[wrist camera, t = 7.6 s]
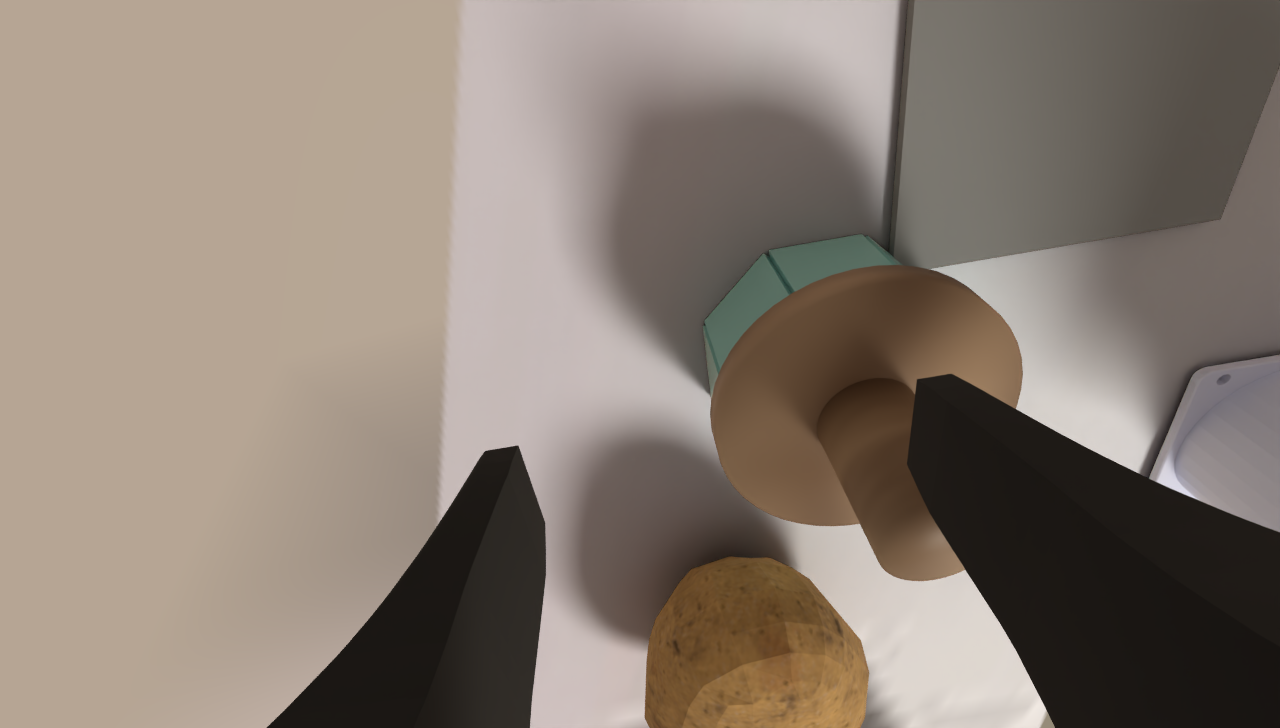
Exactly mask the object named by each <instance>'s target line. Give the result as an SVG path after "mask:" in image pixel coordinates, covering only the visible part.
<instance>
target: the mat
mask: <svg viewBox="0 0 1280 728" xmlns="http://www.w3.org/2000/svg"><path fill="white" fill-rule="evenodd" d="M1279 66H1280V0H908V8H907V21H906V34H905V47H904V60H903V73H902V86H901V99H900V112H899V125H898V138H897V151H896V164H895V177H894V190H893V203H892V216H891V229H890V242H889V253H890V254H891V255H892V256H893V257H894V258H895V259H896V260H898V261H899V262H900V263H901V264H902V265H904V266H914V267H920V268H925V269H932V268H938V267H943V266H949V265H955V264H961V263H967V262H973V261H979V260H985V259H990V258H996V257H1002V256H1008V255H1014V254H1020V253H1026V252H1031V251H1037V250H1043V249H1049V248H1055V247H1061V246H1067V245H1073V244H1078V243H1084V242H1090V241H1096V240H1102V239H1108V238H1114V237H1120V236H1125V235H1131V234H1137V233H1143V232H1149V231H1155V230H1161V229H1167V228H1172V227H1178V226H1184V225H1190V224H1196V223H1202V222H1208V221H1214V220H1219V219H1221V217H1222V214H1223V211H1224V209H1225V206H1226V204H1227V201H1228V198H1229V196H1230V193H1231V191H1232V188H1233V185H1234V183H1235V180H1236V178H1237V175H1238V173H1239V170H1240V167H1241V165H1242V162H1243V160H1244V157H1245V154H1246V152H1247V149H1248V147H1249V144H1250V141H1251V139H1252V136H1253V134H1254V131H1255V128H1256V126H1257V123H1258V121H1259V118H1260V115H1261V113H1262V110H1263V108H1264V105H1265V102H1266V100H1267V97H1268V95H1269V92H1270V89H1271V87H1272V84H1273V82H1274V79H1275V76H1276V74H1277V71H1278V69H1279Z"/></svg>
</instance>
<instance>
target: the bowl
mask: <svg viewBox="0 0 1280 728" xmlns="http://www.w3.org/2000/svg"><path fill="white" fill-rule="evenodd" d="M878 265H902V264H901V263H900V262H899V261H898V260H896V259H895V258H894V257H893V256H892V255H891V254H890V253H889V252H887V251H886V250H885V249H884V248H882V247H881V246H880V245H879V244H878V243H876V242H875V241H874V240H873V239H871V238H870V237H869V236H868V235H867V236H866V237H864V236H863V235H862V234H859V235H853V236H847V237H841V238H836V239H830V240H824V241H818V242H812V243H807V244H801V245H795V246H789V247H783V248H777V249H772V250H769V257H768V256H767V255H765V254H764V253H763V254H762V255H761V256H760V258H759V259H758V260H757V261H756V262H755V263H754V264H753V266H752V267H751V268H750V269H749V270H748V271H747V272H746V274H745V275H744V276H743V277H742V278H741V279H740V280H739V282H738V283H737V284H736V285H735V286H734V287H733V289H732V290H731V291H730V292H729V293H728V294H727V295H726V297H725V298H724V299H723V300H722V301H721V302H720V303H719V305H718V306H717V307H716V308H715V309H714V310H713V311H712V313H711V314H710V315H709V316H708V317H707V318H706V320H705V321H704V322H705V325H704V326H703V333H704V342H705V351H706V360H707V369H708V378H709V387H710V396H711V398H712V394H713V390H714V386H715V382H716V379H717V377H718V374H719V372H720V369H721V367H722V365H723V363H724V361H725V360H726V358H727V356H728V354H729V353H730V351H731V349H732V348H733V347H734V345H735V344H736V343H737V341H738V340H739V339H740V337H741V336H742V335H743V333H744V332H745V331H746V330H747V329H748V328H749V327H750V326H751V325H752V324H753V323H754V322H755V321H756V320H757V319H758V318H759V317H760V316H762V315H763V314H764V313H765V312H766V311H767V310H769V309H770V308H771V307H772V306H774V305H775V304H777V303H778V302H780V301H781V300H783V299H784V298H786V297H787V296H789V295H790V294H792V293H793V292H795V291H797V290H799V289H801V288H803V287H805V286H807V285H809V284H811V283H813V282H815V281H818V280H821V279H823V278H826V277H828V276H831V275H834V274H837V273H841V272H845V271H848V270H852V269H857V268H863V267H870V266H878Z"/></svg>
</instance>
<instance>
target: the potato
mask: <svg viewBox="0 0 1280 728" xmlns="http://www.w3.org/2000/svg"><path fill="white" fill-rule="evenodd" d="M868 678H869V670H868V666H867V662H866V659H865V655H864V651H863V647H862V643H861V640H860V639H859V638H858V637H857V635H856V634H855V633H854V632H853V630H852V629H851V628H850V627H849V626H848V624H847V623H846V622H845V621H844V620H843V618H842V617H841V616H840V615H839V614H838V613H837V611H836V610H835V609H834V608H833V607H832V605H831V604H830V603H829V602H828V601H827V599H826V598H825V597H824V596H823V595H822V594H821V592H820V591H819V590H818V589H817V588H816V586H815V585H814V584H813V583H812V582H811V580H810V579H809V578H807V577H805V576H804V575H802V574H801V573H799V572H798V571H796V570H795V569H793V568H791V567H789V566H787V565H785V564H783V563H780V562H778V561H776V560H774V559H771V558H769V557H767V558H744V557H732V556H729V557H726V558H723V559H720V560H717V561H714V562H711V563H708V564H705V565H702V566H699V567H696V568H693V569H691V570H690V571H689V572H688V573H687V575H686V576H685V577H684V578H683V579H682V580H681V581H680V582H679V584H678V585H677V587H676V588H675V590H674V592H673V593H672V595H671V596H670V598H669V599H668V601H667V602H666V604H665V605H664V607H663V608H662V610H661V611H660V613H659V615H658V616H657V618H656V619H655V622H654V626H653V629H652V632H651V635H650V638H649V646H648V654H647V667H646V695H645V719H646V721H647V723H648V725H649V727H650V728H860V726H861V724H862V722H863V720H864V718H865V709H866V699H867V688H868Z"/></svg>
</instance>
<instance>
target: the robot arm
mask: <svg viewBox="0 0 1280 728" xmlns="http://www.w3.org/2000/svg"><path fill="white" fill-rule="evenodd" d="M907 466H908V468H909V470H910V472H911V475H912V477H913V479H914V481H915V484H916V486H917V488H918V490H919V492H920V494H921V496H922V498H923V501H924V503H925V505H926V507H927V509H928V511H929V513H930V515H931V516H932V518H933V519H934V521H935V523H936V524H937V526H938V528H939V529H940V531H941V532H942V534H943V535H944V537H945V539H946V540H947V542H948V543H949V545H950V546H951V548H952V550H953V551H954V553H955V554H956V556H957V557H958V559H959V560H960V562H961V564H962V565H963V567H964V568H965V570H966V571H967V573H968V574H969V576H970V578H971V579H972V581H973V582H974V584H975V585H976V587H977V588H978V590H979V591H980V593H981V595H982V596H983V598H984V599H985V601H986V602H987V604H988V605H989V607H990V608H991V610H992V612H993V613H994V615H995V616H996V618H997V619H998V621H999V622H1000V624H1001V626H1002V627H1003V629H1004V631H1005V632H1006V634H1007V636H1008V638H1009V639H1010V641H1011V643H1012V644H1013V646H1014V648H1015V649H1016V651H1017V653H1018V655H1019V657H1020V659H1021V661H1022V663H1023V665H1024V667H1025V669H1026V671H1027V673H1028V675H1029V676H1030V678H1031V680H1032V682H1033V684H1034V686H1035V688H1036V690H1037V692H1038V694H1039V696H1040V698H1041V700H1042V702H1043V704H1044V706H1045V708H1046V710H1047V712H1048V714H1049V716H1050V718H1051V720H1052V722H1053V724H1054V726H1055V728H1280V355H1275V356H1269V357H1263V358H1257V359H1251V360H1245V361H1239V362H1232V363H1226V364H1220V365H1214V366H1208V367H1204V368H1201V369H1200V370H1198V371H1196V372H1195V373H1194V374H1193V376H1192V377H1191V379H1190V382H1189V384H1188V386H1187V389H1186V391H1185V393H1184V396H1183V398H1182V401H1181V403H1180V405H1179V408H1178V410H1177V412H1176V415H1175V417H1174V420H1173V422H1172V424H1171V427H1170V429H1169V431H1168V434H1167V436H1166V439H1165V441H1164V443H1163V446H1162V448H1161V451H1160V453H1159V455H1158V458H1157V460H1156V462H1155V465H1154V467H1153V470H1152V472H1151V474H1150V477H1149V478H1147V477H1145V476H1142V475H1140V474H1138V473H1136V472H1134V471H1132V470H1130V469H1128V468H1126V467H1124V466H1122V465H1120V464H1118V463H1116V462H1114V461H1112V460H1110V459H1108V458H1106V457H1104V456H1102V455H1100V454H1098V453H1096V452H1094V451H1092V450H1090V449H1088V448H1086V447H1084V446H1082V445H1080V444H1078V443H1076V442H1075V441H1073V440H1071V439H1069V438H1067V437H1065V436H1063V435H1061V434H1060V433H1058V432H1056V431H1054V430H1052V429H1050V428H1049V427H1047V426H1045V425H1043V424H1041V423H1040V422H1038V421H1036V420H1034V419H1032V418H1031V417H1029V416H1027V415H1025V414H1023V413H1022V412H1020V411H1018V410H1016V409H1015V408H1013V407H1011V406H1009V405H1008V404H1006V403H1004V402H1002V401H1001V400H999V399H997V398H995V397H994V396H992V395H990V394H988V393H986V392H985V391H983V390H981V389H979V388H978V387H976V386H974V385H972V384H970V383H969V382H967V381H965V380H963V379H961V378H959V377H957V376H955V375H953V374H946V375H940V376H934V377H928V378H922V379H917V383H916V391H915V400H914V408H913V416H912V425H911V433H910V442H909V450H908V459H907ZM545 577H546V541H545V521H544V518H543V515H542V513H541V510H540V507H539V504H538V501H537V498H536V495H535V492H534V490H533V487H532V484H531V481H530V478H529V475H528V472H527V469H526V466H525V464H524V461H523V458H522V455H521V452H520V449H519V446H513V447H507V448H501V449H495V450H488V451H485V452H484V453H483V455H482V456H481V457H480V459H479V461H478V462H477V464H476V465H475V467H474V469H473V470H472V472H471V474H470V475H469V477H468V478H467V480H466V482H465V483H464V485H463V487H462V488H461V490H460V491H459V493H458V495H457V496H456V498H455V499H454V501H453V503H452V504H451V506H450V507H449V509H448V510H447V512H446V514H445V515H444V517H443V518H442V520H441V521H440V523H439V524H438V526H437V527H436V529H435V530H434V532H433V533H432V535H431V536H430V538H429V539H428V541H427V542H426V544H425V545H424V547H423V548H422V549H421V551H420V552H419V554H418V555H417V557H416V558H415V559H414V561H413V562H412V563H411V565H410V566H409V567H408V569H407V570H406V572H405V573H404V574H403V576H402V577H401V578H400V580H399V581H398V583H397V584H396V585H395V586H394V588H393V589H392V591H391V592H390V593H389V595H388V596H387V597H386V598H385V600H384V601H383V602H382V604H381V605H380V606H379V607H378V608H377V610H376V611H375V612H374V613H373V615H372V616H371V617H370V618H369V620H368V621H367V622H366V623H365V624H364V626H363V627H362V628H361V629H360V630H359V631H358V633H357V634H356V635H355V636H354V637H353V638H352V640H351V641H350V642H349V643H348V644H347V645H346V647H345V648H344V649H343V650H342V651H341V652H340V654H338V655H337V657H336V658H335V659H334V660H333V661H332V662H331V663H330V664H329V665H328V666H327V667H326V668H325V669H324V670H323V671H322V672H321V673H320V674H319V676H317V678H316V679H315V680H314V681H313V682H312V683H311V684H310V685H309V686H308V687H307V688H306V689H305V690H304V691H303V692H302V693H301V694H300V695H299V696H298V697H297V698H296V699H295V700H294V701H293V702H292V703H291V704H290V706H288V707H287V708H286V709H285V711H283V712H282V713H281V714H280V715H279V716H278V717H277V718H276V719H275V720H274V721H273V722H272V723H271V724H270V725H269V726H268V727H267V728H530V717H531V703H532V693H533V684H534V675H535V667H536V658H537V649H538V641H539V632H540V623H541V614H542V605H543V596H544V587H545Z"/></svg>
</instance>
